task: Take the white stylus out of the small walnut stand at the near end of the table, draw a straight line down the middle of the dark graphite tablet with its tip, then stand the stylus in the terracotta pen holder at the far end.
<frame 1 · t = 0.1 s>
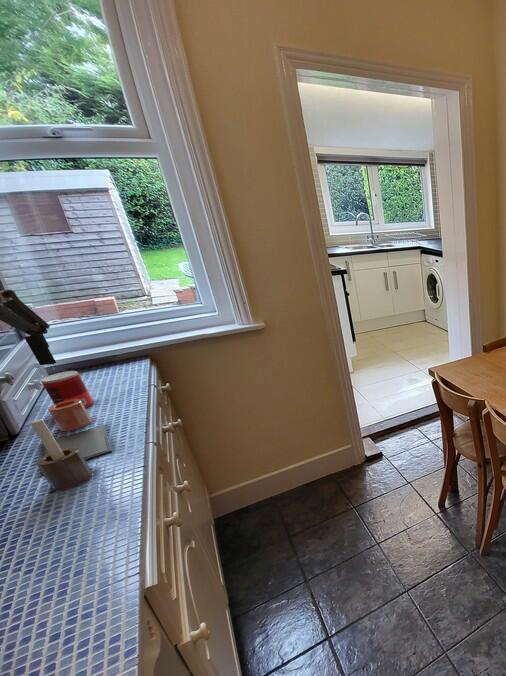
hand: (18, 376, 85), 24 cm above the worktop, tool pointing down, fingers open, 13 cm apart
stand: (74, 482, 90), on the worktop
stylus: (72, 480, 90), resting on stand
tablet: (77, 449, 103), on the worktop
pen holder: (77, 426, 114), on the worktop
canned food: (78, 409, 125), on the worktop
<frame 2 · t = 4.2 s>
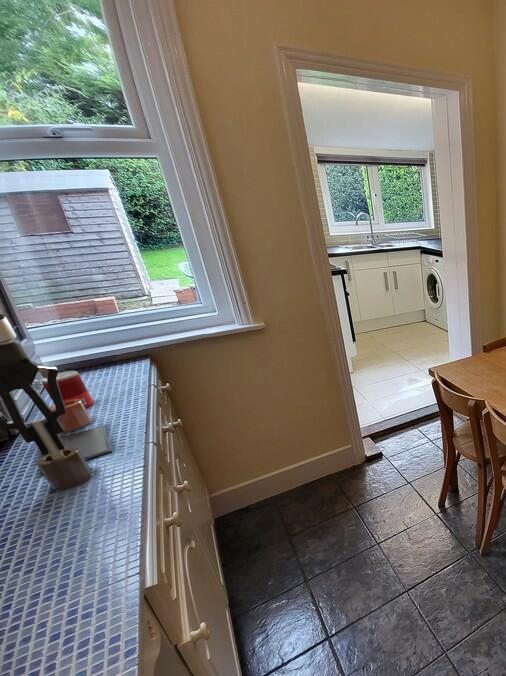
hand: (54, 449, 87), 8 cm above the worktop, tool pointing down, fingers closed on stylus, 2 cm apart
stylus: (72, 480, 90), point 1 cm above the worktop, touching gripper
everything else where it was.
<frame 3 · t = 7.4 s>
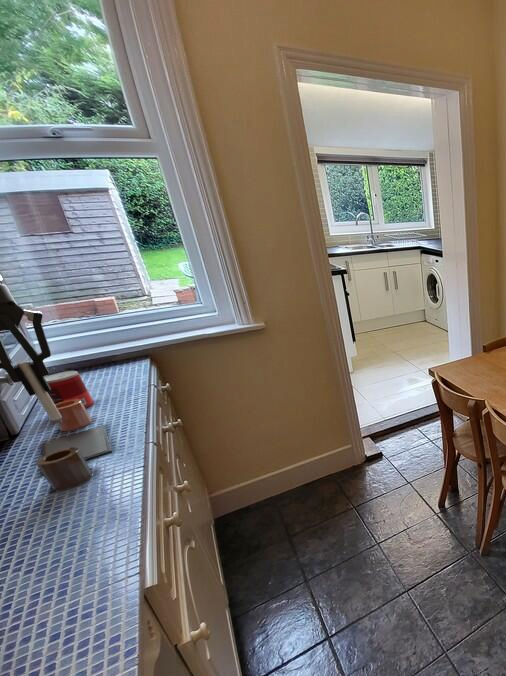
hand: (40, 391, 92), 18 cm above the worktop, tool pointing down, fingers closed on stylus, 2 cm apart
stylus: (58, 422, 95), point 10 cm above the worktop, touching gripper
everything else where it was.
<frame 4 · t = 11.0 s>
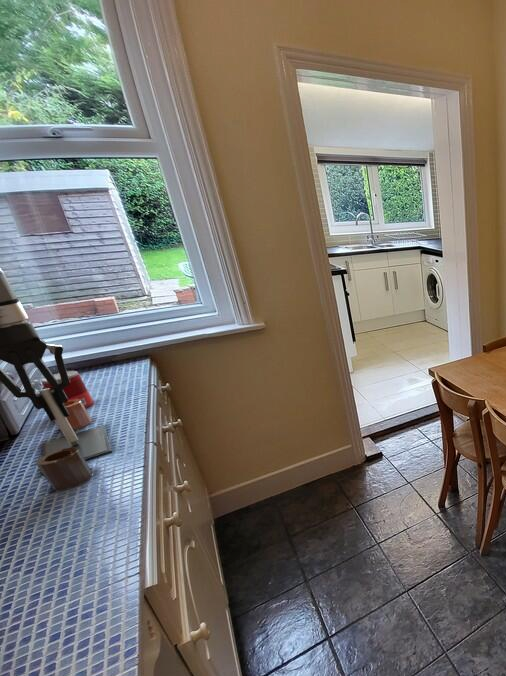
hand: (60, 416, 101), 9 cm above the worktop, tool pointing down, fingers closed on stylus, 2 cm apart
stylus: (75, 444, 103), point 1 cm above the worktop, tilted 6°, touching gripper
everything else where it was.
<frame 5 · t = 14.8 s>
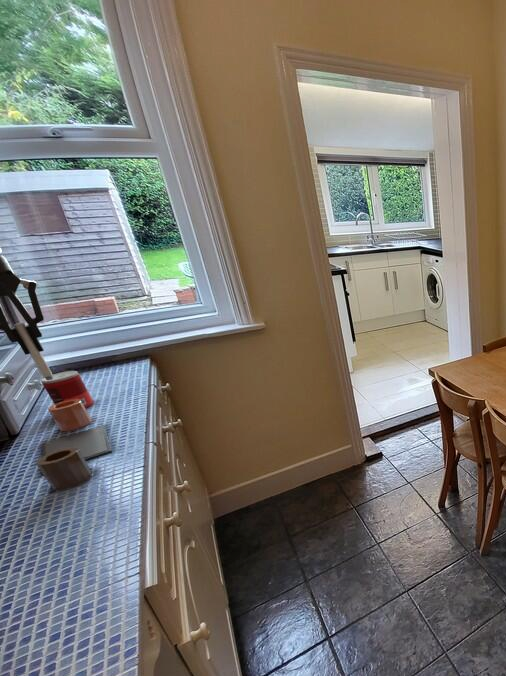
hand: (34, 351, 105), 22 cm above the worktop, tool pointing down, fingers closed on stylus, 2 cm apart
stylus: (50, 379, 107), point 15 cm above the worktop, tilted 6°, touching gripper
everything else where it was.
when the fingers open (10 cm above the worktop, at t = 18.0 s): stylus drops 5 cm, resting on pen holder.
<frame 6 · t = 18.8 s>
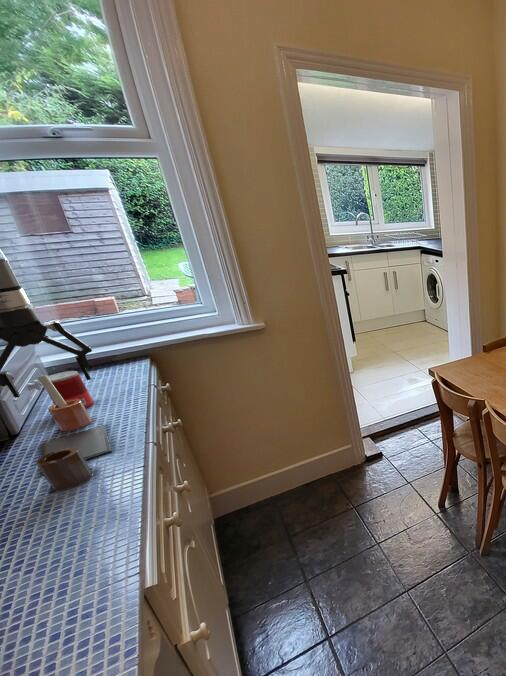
hand: (54, 387, 109), 12 cm above the worktop, tool pointing down, fingers open, 13 cm apart
stylus: (76, 425, 114), point 1 cm above the worktop, tilted 18°, touching pen holder
everything else where it was.
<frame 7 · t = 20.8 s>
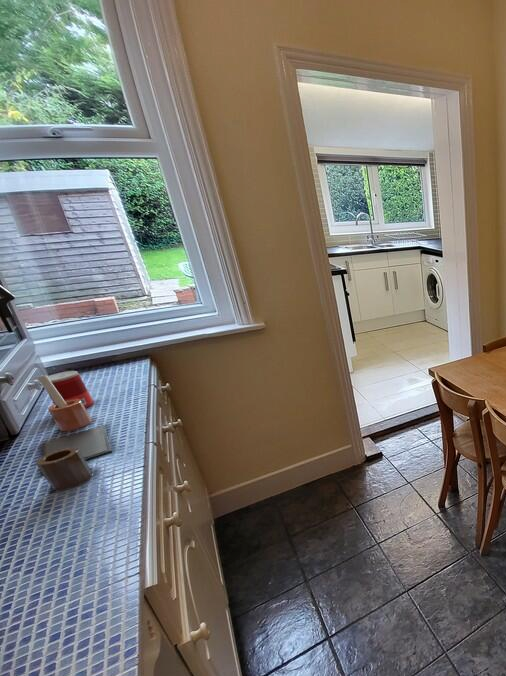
nothing on the worktop moved.
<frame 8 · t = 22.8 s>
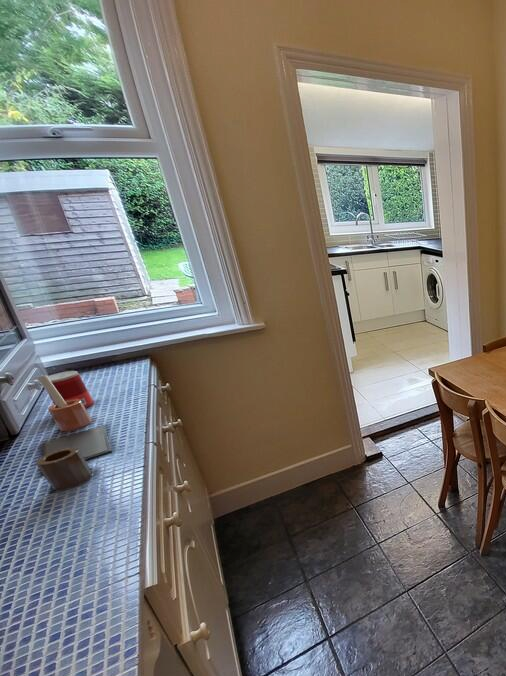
nothing on the worktop moved.
at the end: stylus 1.1 cm off-centre in the pen holder, point 0.7 cm above the pen holder's base; stylus tilted 18°; the gripper is holding nothing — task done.
